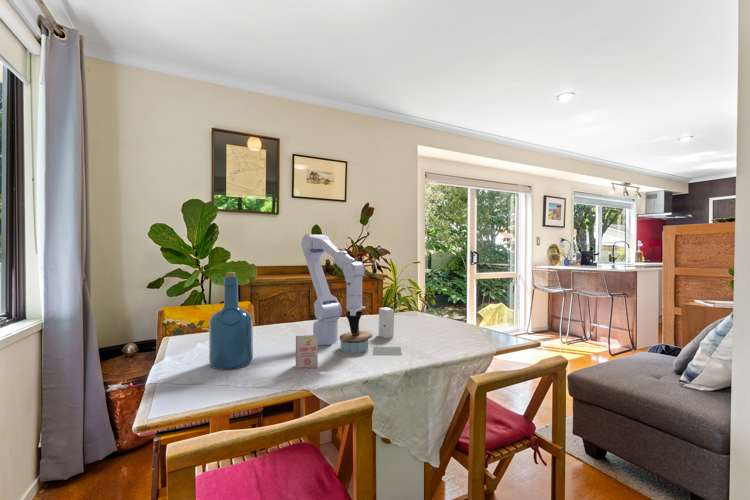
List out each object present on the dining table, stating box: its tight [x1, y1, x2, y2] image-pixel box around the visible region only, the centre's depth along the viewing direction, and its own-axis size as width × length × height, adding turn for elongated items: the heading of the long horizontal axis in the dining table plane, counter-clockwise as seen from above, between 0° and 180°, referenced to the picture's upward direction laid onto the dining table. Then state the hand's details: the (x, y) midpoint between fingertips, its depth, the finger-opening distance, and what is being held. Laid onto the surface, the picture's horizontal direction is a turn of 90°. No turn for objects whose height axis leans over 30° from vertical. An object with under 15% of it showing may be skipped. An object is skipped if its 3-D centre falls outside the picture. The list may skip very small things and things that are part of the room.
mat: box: [372, 346, 403, 356], centre depth 132 cm, size 10×10×1 cm
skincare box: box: [378, 306, 395, 339], centre depth 153 cm, size 6×4×12 cm
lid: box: [339, 323, 373, 342], centre depth 135 cm, size 12×12×5 cm
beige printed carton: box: [295, 334, 319, 370], centre depth 118 cm, size 4×7×10 cm, turn 100°
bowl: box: [340, 339, 369, 354], centre depth 136 cm, size 10×10×4 cm
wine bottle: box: [208, 271, 254, 370], centre depth 120 cm, size 14×13×30 cm
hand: (354, 331), depth 135 cm, fingers closed on lid, 3 cm apart
